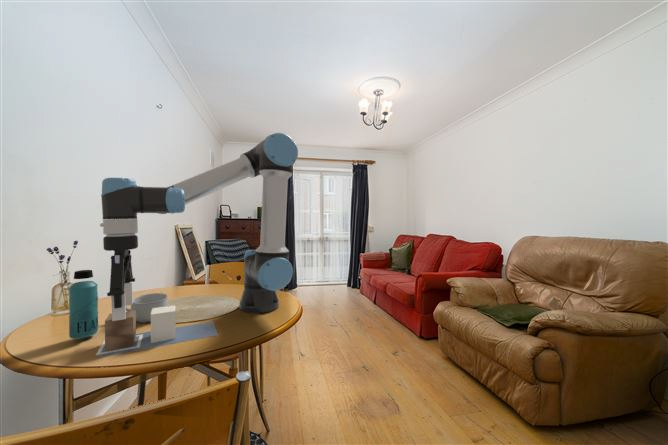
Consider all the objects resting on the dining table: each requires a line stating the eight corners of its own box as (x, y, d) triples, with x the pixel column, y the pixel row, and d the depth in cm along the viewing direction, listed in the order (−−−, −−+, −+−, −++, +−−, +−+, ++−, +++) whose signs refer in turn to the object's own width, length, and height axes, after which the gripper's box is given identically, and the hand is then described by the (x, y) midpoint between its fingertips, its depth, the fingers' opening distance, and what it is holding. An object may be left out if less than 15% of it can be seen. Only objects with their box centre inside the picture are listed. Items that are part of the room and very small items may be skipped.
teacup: (174, 315, 101) (174, 293, 101) (152, 327, 90) (152, 302, 90) (139, 313, 102) (139, 292, 102) (113, 325, 92) (112, 300, 91)
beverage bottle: (73, 346, 76) (72, 273, 76) (64, 340, 80) (64, 270, 79) (102, 338, 82) (102, 269, 81) (93, 332, 85) (93, 267, 85)
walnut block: (135, 337, 81) (135, 310, 81) (133, 346, 76) (133, 316, 76) (109, 342, 78) (109, 313, 78) (105, 351, 73) (104, 320, 73)
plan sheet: (212, 322, 94) (212, 321, 94) (217, 336, 83) (217, 334, 83) (105, 340, 80) (105, 338, 80) (93, 359, 69) (93, 357, 69)
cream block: (175, 331, 86) (175, 305, 86) (175, 338, 81) (175, 311, 81) (152, 335, 83) (152, 308, 83) (150, 343, 78) (150, 314, 78)
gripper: (112, 233, 85) (114, 302, 86) (91, 238, 64) (94, 330, 64) (142, 232, 89) (144, 298, 90) (131, 237, 67) (134, 324, 68)
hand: (123, 311), depth 77 cm, fingers open, 13 cm apart
